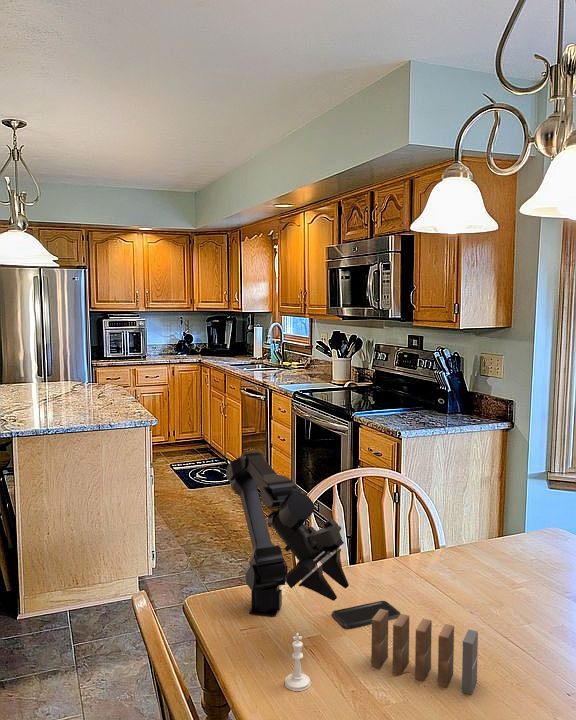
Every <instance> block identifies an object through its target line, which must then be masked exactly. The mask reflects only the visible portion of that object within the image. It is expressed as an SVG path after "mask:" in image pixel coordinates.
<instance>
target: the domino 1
mask: <svg viewBox="0 0 576 720" xmlns="http://www.w3.org/2000/svg"><path fill="white" fill-rule="evenodd" d="M388 658H389V621H388V610H384V609H379V611H378V612H377V613H376V615H375V616H374V617H373V618H372V624H371V668H374V669H378V670H381V669H382V667H383V665H384V663H385V662H386V661H387V659H388Z"/></svg>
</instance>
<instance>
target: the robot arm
mask: <svg viewBox="0 0 576 720" xmlns="http://www.w3.org/2000/svg"><path fill="white" fill-rule="evenodd" d="M226 479H227V481H229V484H230V487H231V489H232V490H233V492H234V493H235V494H237V495H238V496H239V498H240V502H241V506H242V510H243V514H244V517H245V522H246V527H247V530H248V535H249V537H250V543H251V546H252V552H251V557H250V559H249V567H248V568H247V571H246V572H245V575H244V576H245V584H246V585H247V586H248V588H249V589H250V590H251V594H250V595H251V608H250V610H249V614H250V615H259V616H267V617H268V616H269V617H276V616H277V614H278V612H279V611H280V610H281V608H282V605H283V601H282V600H283V597H282V596H283V592H282V591H283V590H282V588H281V587H280V586H285V585H286V584H287V585H288V587H289V588H290V589H293V587H295V586H296V585H297V584H298V587H303V588H306V589H308V590H310V591H313V592H315V593H317V594H319V595H321V596H323V597H324V598H327V599H329V600H331V601H333V602H334V601H335V600H337V598H338V596H337V594H336V593H335V591H334V590H333V588H332V587H331V585H330V584H329V582H328V580H327V579H326V578H325V576H324V574H323V573H325V574H326V575H327V576H328V577H330V578H331V579H332V580H333V581H335V582H336V583H337V584H338V585H340V586H341V588H344V589H347V588H348V587H349V582H348V579H347V577H346V575H345V572H344V569H343V567H342V565H341V561H340V556H341V552H342V548H340V547H342V545H344V544H345V542H344V540H343V537H342V534H341V531H342V526H341V525H339V523H338V522H336V520H334V518H332V519H329V520H327V521H325V522H324V525H323V527H321V528H320V529H318V530H317V529H315V528H314V527H313V526H311V525H310V526H308V527H307V525H305V523H306V522H307V520H308V519H309V518H310V517H312V515H313V513H314V510H315V504H314V502H313V501H312V499H311V498H310V496H308V495H307V494H306V493H303V492H302V490H301V488H299V487H298V486H297V485H296V484H295V483H294V481H293V480H292V479H291V478H289V477H287V476H285V475H281V474H278V473H277V472H276V471H275V470H274V469H273V467H272V466H271V465H270V464H269V463H268V462H267V460H266V459H265V458H264V455H263V453H262V452H259V451H251V452H244V453H242V454H241V455H240V456H239V457H238V458H236V459H233V460H231V461H230V462H229V464H228V465H227V467H226ZM258 487H259V488H260V494H259V490H258ZM262 503H263V505H264V506H265V508H267V509H271V508H278V507H279V508H278V509H277V510H273V511H271V512H270V513H269V514H268V515H267V521H266V517H265V513H264V509H263V506H262ZM268 528H273V530H274V531H275V533H277V534H278V536H279V537H280V539H281V540H282V542H284V544H285V545H286V546H285V547H283V549H284V551H285V552H286V553H288V552H291V553H292V554H293V555H294V556H295V558H296V559H297V561H298V562H297V563H296V565H295V566H294V567H293V568H291V569H290V570H288V568H289V567H288V565H287V562H286V560H285V559H284V555H283V552H282V548H281V546H280V545H279V544H278V545H275V544H274V543H273V542H272V540H271V537H270V532H269V529H268ZM319 562H320V563H321V565H320V566H317V564H318V563H319Z"/></svg>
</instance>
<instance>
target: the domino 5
mask: <svg viewBox="0 0 576 720" xmlns="http://www.w3.org/2000/svg"><path fill="white" fill-rule="evenodd" d="M478 639H479V631H477V630H473V629H467V631H466V634H465V636H464V638H463V640H462V659H461V660H462V665H461V666H462V667H461V669H462V671H461V677H462V678H461V693H462V694H467V695H470V696H472V695H473V693H474V690H475V687H476V685H477V682H478V651H479V650H478V649H479V648H478V645H479V644H478V643H479V642H478V641H479V640H478Z"/></svg>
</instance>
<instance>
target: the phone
mask: <svg viewBox="0 0 576 720" xmlns="http://www.w3.org/2000/svg"><path fill="white" fill-rule="evenodd" d="M379 609H384V610H388V622H389V621H392V620H397V618H398V617H399V616H400V614H401V612H400V611H399V610H398V609H396V608H395V607H394V606H393V605H392V604H390V602H388V601H386V600H378V601H374V602H369V603H364V604H360V605H356V606H351V607H347V608H341V609H335V610H333V611H332V612H331V617H332V618H333V619H334V620H335V621H336V622H337V623H338V624H339V625H340V626H341V627H342V629H345V630H352V629H353V630H354V629H358V628H361V627H365V626H370V625H371V626H372V618H373V617H374V616H375V615H376V613H377V612H378V611H379Z"/></svg>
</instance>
